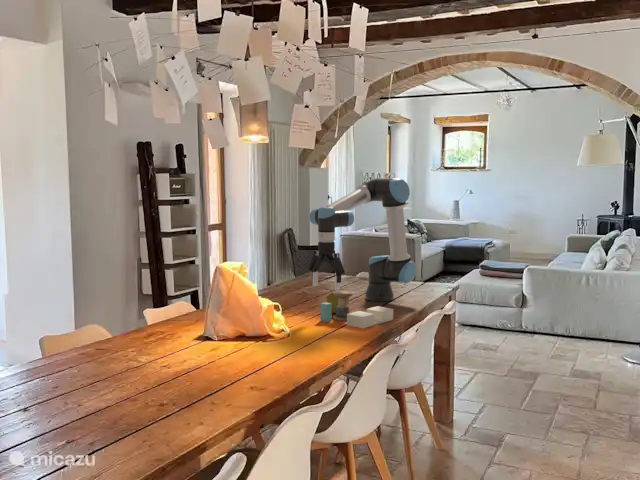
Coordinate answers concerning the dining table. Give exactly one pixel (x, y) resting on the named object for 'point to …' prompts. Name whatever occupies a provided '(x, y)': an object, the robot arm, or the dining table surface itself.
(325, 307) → the block
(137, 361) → the dining table surface
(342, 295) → the door knob
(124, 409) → the dining table surface
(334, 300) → the flower pot
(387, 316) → the notched board
